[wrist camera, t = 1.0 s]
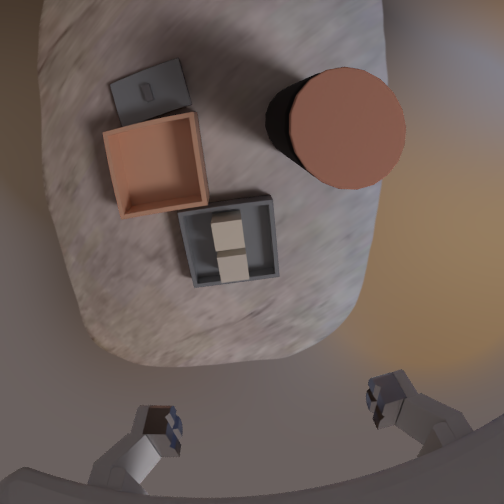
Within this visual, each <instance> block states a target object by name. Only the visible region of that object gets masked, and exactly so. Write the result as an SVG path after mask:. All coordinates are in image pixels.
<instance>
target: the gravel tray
mask: <svg viewBox="0 0 504 504" xmlns="http://www.w3.org/2000/svg"><path fill="white" fill-rule="evenodd" d="M238 210H240V211H241V219H242V226H243V234H244V242H245V249H246V256H247V263H248V271H249V280H241V281H233V282H226V283H221V277H220V272H219V267H218V261H217V251H216V250H215V245H214V239H213V234H212V228H211V219H212V214H216V213H223V212H230V211H238ZM178 218H179V223H180V228H181V232H182V237H183V242H184V246H185V251H186V255H187V259H188V264H189V268H190V272H191V276H192V281H193V285H194V288H197V287H205V286H213V285H221V284H229V283H237V282H244V281H252V280H259V279H266V278H274V277H280V276H279V264H278V252H277V240H276V229H275V218H274V207H273V199H272V197H271V195H266V196H257V197H249V198H242V199H234V200H227V201H220V202H213V203H208V205H206V206H199V207H192V208H186V209H180V210H179V211H178Z"/></svg>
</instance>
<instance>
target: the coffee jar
mask: <svg viewBox="0 0 504 504" xmlns="http://www.w3.org/2000/svg"><path fill="white" fill-rule="evenodd" d="M266 130H267V133H268V136H269V139H270V140H271V142H272V143H273V144H274V146H275V147H276V149H278V150H279V151H280V152H282V153H283V154H284V155H286V156H287V157H288V158H290V159H291V160H293V161H294V162H295V163H297V164H298V165H299V166H301V167H302V168H303V169H305V170H306V171H307V172H309V173H310V174H311V175H313V176H315V177H316V178H317V179H318V180H320V181H321V182H323V183H325V184H328V185H330V186H333V187H336V188H338V189H356V190H357V189H360V188H364V187H367V186H371V185H374V184H375V183H377V182H378V181H380V180H381V179H383V178H384V177H386V176H387V175H388V174H389V173H390V171H391V170H392V169H393V168H394V166H395V165H396V164H397V162H398V161H399V158H400V155H401V153H402V150H403V148H404V144H405V133H406V125H405V120H404V115H403V110H402V108H401V106H400V104H399V102H398V100H397V98H396V96H395V95H394V93H393V92H392V91H391V89H390V88H389V87H388V86H387V85H386V84H385V83H384V82H383V81H382V80H381V79H379V78H377V77H375V76H374V75H372V74H370V73H368V72H366V71H364V70H360V69H355V68H349V67H341V68H335V69H329V70H325V71H324V72H322V73H318V74H315V75H313V76H311V77H309V78H306V79H304V80H302V81H300V82H298V83H295V84H293V85H291V86H289V87H287V88H286V89H284V90H282V91H281V92H279V93H278V94H277V95H276V96H275V97H274V98H273V100H272V101H271V102H270V104H269V107H268V109H267V112H266Z"/></svg>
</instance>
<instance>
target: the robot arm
mask: <svg viewBox="0 0 504 504" xmlns="http://www.w3.org/2000/svg"><path fill="white" fill-rule="evenodd" d="M368 386H369V389H368V390H367V393H366V403H367V406H368V409H369V411H370V412H372V413H374V415H373V421H374V423H375V425H376V428H377V429H382V428H385V427H389V426H392V425H396V426H397V427H398V428H400V429H401V430H403V431H404V432H405V433H407V434H408V435H409V436H411V437H412V438H414V439H415V440H417V441H418V442H420V443H421V444H423V447H422V449H421V450H420V452H419V454H418V456H417V457H418V458H415V459H413V460H410V461H408V462H405V463H402V464H399V465H397V466H394V467H391V468H388V469H385V470H382V471H379V472H376V473H372V474H369V475H365V476H362V477H359V478H355V479H351V480H347V481H343V482H339V483H335V484H330V485H325V486H321V487H315V488H310V489H305V490H299V491H292V492H285V493H278V494H269V495H259V496H247V497H231V498H230V497H229V498H186V497H168V496H156V495H148V492H147V491H146V490H145V489H144V488H143V487H142V486H141V485H140V483H141V482H142V481H143V479H144V478H145V477H146V476H147V475H148V473H149V472H150V471H151V470H152V469H153V467H154V466H155V465H156V464H157V462H158V461H159V460H160V459H161V457H180V450H181V444H180V442H179V439H180V438H181V437H182V433H183V427H182V422H181V419H180V417H179V416H177V415H176V409H175V407H174V406H157V405H154V406H153V405H140V406H139V407H138V409H137V412H136V416H135V419H134V423H133V427H132V430H131V434H127V435H125V436H124V437H123V438H122V439H121V440H120V441H119V442H117V443H116V444H115V445H114V446H113V447H112V448H111V449H109V450H108V451H107V452H106V453H105V454H104V455H102V456H101V457H100V458H99V459H98V460H97V461H95V462H94V464H93V468H92V471H91V474H90V477H89V481H88V484H87V485H86V484H82V483H78V482H74V481H71V480H66V479H63V478H60V477H56V476H53V475H50V474H47V473H43V472H40V471H37V470H35V469H32V468H29V467H23V468H20V469H18V470H17V471H15V472H13V473H12V474H10V475H8V476H7V477H5V478H4V479H3V480H2V481H1V482H0V504H504V414H502V415H500V416H499V417H497V418H496V419H494V420H492V421H491V422H489V423H487V424H485V425H484V426H482V427H480V428H479V429H477V430H475V431H473V430H472V428H471V426H470V425H469V423H468V422H467V420H466V419H465V417H464V415H463V414H462V412H460V411H458V410H456V409H453V408H451V407H449V406H447V405H445V404H442V403H441V402H438V401H436V400H434V399H432V398H430V397H428V396H426V395H424V394H422V393H420V394H418V393H417V391H416V389H415V388H414V386H413V385H412V383H411V381H410V380H409V378H408V377H407V375H406V374H405V372H404V371H403V370H402V369H401V370H398V371H395V372H392V373H387V374H384V375H380V376H377V377H373V378H370V379H369V382H368Z"/></svg>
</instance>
